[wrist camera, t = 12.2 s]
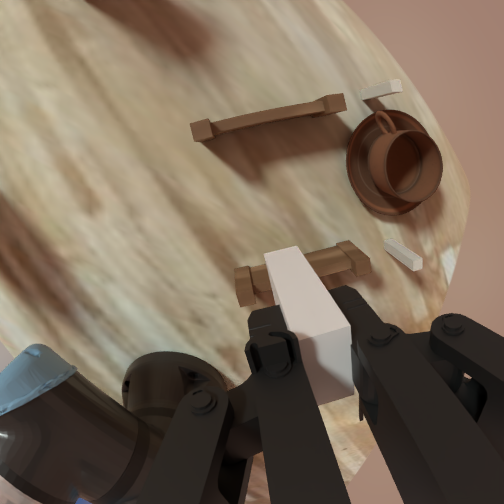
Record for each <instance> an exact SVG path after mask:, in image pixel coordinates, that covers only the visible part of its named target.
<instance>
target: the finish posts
mask: <svg viewBox="0 0 504 504" xmlns="http://www.w3.org/2000/svg"><path fill="white" fill-rule="evenodd" d="M399 92H403V90H402V85H401V81H400V80H388V81H385V82H382V83H379V84H376V85H373V86H370V87H367V88H364V89H361V90H360V93H361V97H362V100H368V99H374V98H378V97H382V96H386V95H390V94H395V93H399ZM384 249H385V250H386V251H387V252H388V253H390V254H391V255H392V256H394V257H395V258H396V259H398V260H399V261H400V262H402V263H403V264H404V265H406V266H407V267H408V268H409V269H411V270H412V271H413V272H414V271H417V270H420V269H422V258H421V257H420V256H418V255H417V254H415V253H414V252H412V251H411V250H409V249H408V248H406V247H405V246H403V245H402V244H400V243H399V242H397V241H395V240H394V239H392V238H391V239H388V240H384Z"/></svg>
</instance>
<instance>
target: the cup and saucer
mask: <svg viewBox="0 0 504 504" xmlns="http://www.w3.org/2000/svg"><path fill="white" fill-rule="evenodd" d="M346 167H347V173H348V177H349V181H350V183H351V186H352V188H353V190H354V191H355V193H356V195H357V196H358V197H359V198H360V200H361V201H362V202H363V203H364V204H365V205H366V206H368V207H369V208H370V209H372V210H374V211H376V212H378V213H381V214H384V215H400V214H404V213H407V212H409V211H411V210H413V209H414V208H416V207H417V206H418V205H419V204H420V203H421V202H422V201H424V200H426V199H428V198H429V197H430V196H431V195H432V194H433V193H434V192H435V191H436V189H437V188H438V186H439V184H440V181H441V177H442V172H443V163H442V157H441V153H440V151H439V148H438V146H437V145H436V143H435V142H434V141H433V139H432V138H431V137H430V136H429V134H428V133H427V131H426V130H425V128H424V127H423V126H422V125H421V124H420V123H419V122H418V121H417V120H416V119H415V118H413V117H412V116H410V115H409V114H406V113H404V112H401V111H397V110H382V111H378V112H376V113H373V114H371V115H370V116H368V117H367V118H365V119H364V120H363V121H362V122H361V123H360V124H359V125H358V126H357V128H356V129H355V130H354V132H353V134H352V136H351V138H350V141H349V144H348V148H347V154H346Z"/></svg>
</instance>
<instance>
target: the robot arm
mask: <svg viewBox="0 0 504 504" xmlns="http://www.w3.org/2000/svg"><path fill="white" fill-rule="evenodd" d="M264 257H265V262H266V266H267V270H268V274H269V279H270V283H271V287H272V291H273V296H274V300H275V304H276V305H275V306H271V307H267V308H263V309H259V310H255V311H252V312H251V314H250V316H249V318H248V327H249V334H250V340H249V341H248V342H247V344H246V346H245V354H246V357H247V360H248V363H249V366H250V369H251V372H252V374H251V375H250V377H249V378H248V379H247V380H246V381H245V382H244V383H243V384H241V385H239V386H237V387H236V388H233V389H231V390H229V391H227V387H226V384H225V382H224V380H223V378H222V377H221V375H220V374H219V373H218V372H217V371H216V370H215V369H214V368H213V367H212V366H210V365H209V364H207V363H206V362H204V361H202V360H200V359H198V358H196V357H193V356H190V355H187V354H183V353H178V352H154V353H150V354H146V355H144V356H142V357H140V358H138V359H136V360H135V361H134V362H133V363H132V364H131V365H130V366H129V368H128V369H127V372H126V374H125V377H124V380H123V383H122V399H123V406H122V405H120V404H119V403H117V402H116V401H115V400H113V399H112V398H111V397H109V396H108V395H107V394H105V393H104V392H103V391H101V390H100V389H99V388H98V387H96V386H95V385H94V384H93V383H91V382H90V381H89V380H88V379H86V378H85V377H84V376H83V375H81V374H80V373H79V372H78V371H77V369H78V368H77V367H75V366H74V365H70V364H69V363H68V362H66V361H65V360H64V359H63V358H61V357H60V356H59V355H58V354H57V353H55V352H54V351H53V350H52V349H51V348H49V347H48V346H46V345H43V344H33V345H30V346H29V347H27V348H26V349H25V350H24V351H22V352H21V353H20V354H19V355H18V356H17V357H16V358H15V359H14V360H13V361H12V362H11V363H10V364H9V365H8V366H7V367H6V368H5V369H4V370H3V371H2V372H1V373H0V504H75V503H76V501H77V499H78V498H82V499H85V500H87V501H89V502H91V503H92V504H244V502H245V497H246V492H247V487H248V482H249V477H250V472H251V467H252V462H253V455H255V454H257V453H260V452H262V451H263V454H264V461H265V468H266V475H267V481H268V488H269V495H270V501H271V504H351V502H350V499H349V496H348V493H347V490H346V487H345V484H344V481H343V478H342V475H341V472H340V469H339V466H338V463H337V460H336V457H335V454H334V451H333V449H332V446H331V443H330V440H329V437H328V434H327V431H326V428H325V425H324V422H323V419H322V417H321V414H320V411H319V408H318V406H319V405H322V404H325V403H329V402H332V401H335V400H339V399H342V398H345V397H348V396H351V395H354V385H355V387H356V389H357V391H358V393H359V419H360V421H362V420H363V414H364V416H365V418H366V420H367V423H368V425H369V427H370V429H371V431H372V433H373V436H374V438H375V440H376V442H377V444H378V446H379V449H380V451H381V453H382V455H383V457H384V459H385V462H386V464H387V466H388V468H389V470H390V473H391V475H392V477H393V480H394V482H395V484H396V486H397V489H398V491H399V493H400V495H401V498H402V500H403V502H404V504H504V337H502V336H500V335H499V334H497V333H495V332H493V331H491V330H490V329H488V328H486V327H484V326H483V325H481V324H479V323H477V322H475V321H473V320H472V319H470V318H468V317H466V316H463V315H461V314H453V313H449V314H444V315H441V316H439V317H437V318H436V319H435V320H434V321H433V322H432V325H431V330H430V331H428V332H421V333H414V334H405V333H404V332H403V331H402V330H401V329H400V328H399V327H397V326H395V325H392V324H389V323H383V321H382V320H381V319H380V318H379V317H378V315H377V314H376V313H375V312H374V310H373V309H372V308H371V307H370V306H369V304H367V302H366V301H365V300H364V298H362V296H361V295H360V294H359V293H358V291H357V290H355V289H353V288H351V287H349V286H346V285H345V286H341V287H338V288H334V289H331V290H327V289H326V288H325V286H324V285H323V283H322V282H321V280H320V279H319V277H318V276H317V274H316V273H315V271H314V270H313V269H312V267H311V266H310V264H309V263H308V261H307V260H306V258H305V257H304V255H303V254H302V253H301V251H300V250H299V248H298V247H297V246H293V247H289V248H285V249H281V250H277V251H273V252H269V253H265V254H264ZM464 373H466V374H468V375H469V376H470V377H472V378H471V379H468V378H466V377H464Z"/></svg>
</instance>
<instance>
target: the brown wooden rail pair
mask: <svg viewBox="0 0 504 504" xmlns="http://www.w3.org/2000/svg"><path fill="white" fill-rule="evenodd" d="M346 110H347V108H346V103H345V99H344V95H343V93H341V94H332V95H326V96H324V97H322V98H320V99H317V100H315V101H313V102H309V103H303V104H297V105H291V106H285V107H280V108H275V109H270V110H265V111H260V112H255V113H250V114H246V115H241V116H237V117H233V118H229V119H224V120H220V121H216V122H213V123H211V122H210V120H209V119H205V120H201V121H197V122H194V123H190V127H191V131H192V135H193V139H194V141H195V142H203V141H207V140H210V139H214V138H215V135H218V134H222V133H226V132H230V131H235V130H239V129H243V128H247V127H252V126H256V125H261V124H266V123H271V122H276V121H281V120H286V119H291V118H297V117H302V116H308V115H312V117H319V116H326V115H330V114H334V113H338V112H342V111H346ZM336 245H337V246H334V247H330V248H326V249H323V250H319V251H315V252H311V253H307V254H303V255H304V257H305V258H306V260H307V261H308V263H309V264H310V266H311V267H312V269H313V270H314V271H315V273H316V274H317V276H318V277H322V276H326V275H329V274H333V273H337V272H340V271H344V270H348V269H350V270H351V271H352V272H353V273H354V274H355V275H356V276H357V277H358V276H361V275H365V274H368V273H371V264H370V258H369V257H368V256H367V255H366V254H364V253H363V252H362V251H361V250H360V249H359V248H357V247H356V246H355V245H354V244H353V243H352V242H350V241H349V240H348V241H344V242H340V243H336ZM234 271H235V286H236V295H237V298H238V302H239V305H240V307H244V306H248V305H252V304H256V300H255V294H256V293H260V292H264V291H268V290H272V287H271V283H270V279H269V274H268V270H267V266H266V264H263V265H259V266H255V267H251V268H249V267H248V266H245V267H241V268H237V269H234Z"/></svg>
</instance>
